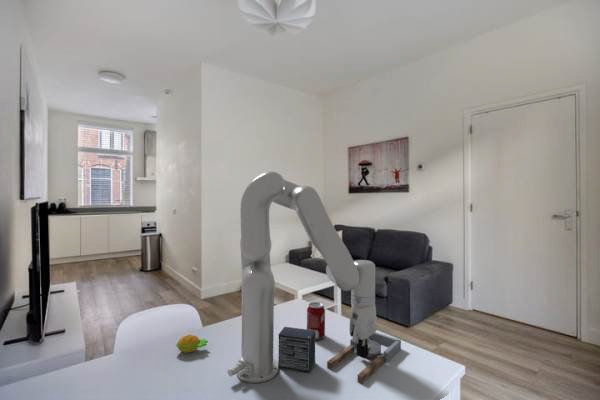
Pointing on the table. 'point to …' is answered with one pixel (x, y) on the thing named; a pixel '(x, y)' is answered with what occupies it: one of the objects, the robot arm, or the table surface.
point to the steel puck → (373, 350)
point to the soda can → (316, 319)
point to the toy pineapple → (190, 343)
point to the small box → (297, 349)
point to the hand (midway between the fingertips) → (362, 355)
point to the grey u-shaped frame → (392, 344)
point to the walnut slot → (364, 373)
